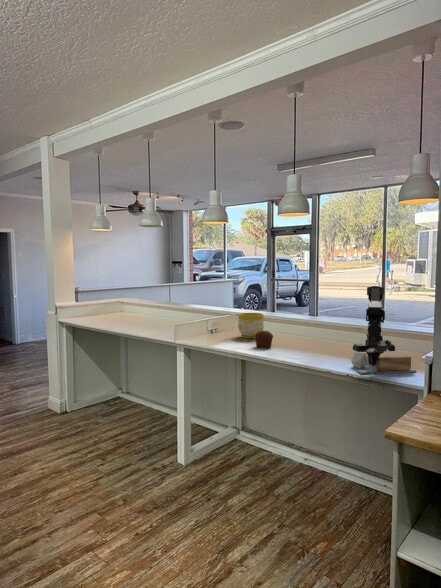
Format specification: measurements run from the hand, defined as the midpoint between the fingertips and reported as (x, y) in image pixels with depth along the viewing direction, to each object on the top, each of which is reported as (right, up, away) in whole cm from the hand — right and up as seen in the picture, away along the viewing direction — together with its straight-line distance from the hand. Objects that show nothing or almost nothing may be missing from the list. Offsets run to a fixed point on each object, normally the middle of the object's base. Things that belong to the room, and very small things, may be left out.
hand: (373, 365), depth 194 cm
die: (-3, -3, +11) cm, 12 cm away
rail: (+7, -3, +1) cm, 8 cm away
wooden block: (+10, -2, +2) cm, 11 cm away
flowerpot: (-51, +3, +95) cm, 108 cm away
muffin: (-45, +1, +61) cm, 76 cm away
